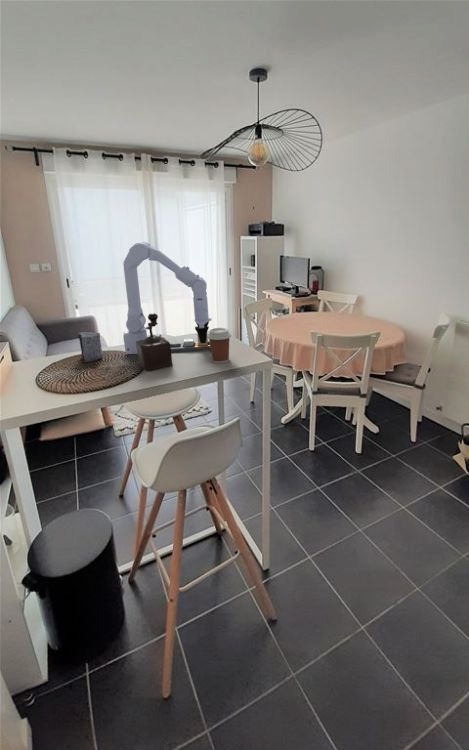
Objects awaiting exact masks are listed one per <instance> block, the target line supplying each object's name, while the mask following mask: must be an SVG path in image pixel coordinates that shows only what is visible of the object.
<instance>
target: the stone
mask: <svg viewBox="0 0 469 750" xmlns="http://www.w3.org/2000/svg"><path fill="white" fill-rule="evenodd" d="M77 335H78V340H79V345H80V351H81V358H82V359H81V360H82V362H83V363H90V362H93V361H97V360H99V359H103V358H104V356H105V354H104V352H103V349H102V343H101V333H100V332H91V331H89V332H86V331H80V332H78V333H77Z"/></svg>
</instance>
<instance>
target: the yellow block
mask: <svg viewBox="0 0 469 750" xmlns="http://www.w3.org/2000/svg"><path fill="white" fill-rule="evenodd" d="M196 334H197V342H198V346H208V341H209V339H208V338H207V336H206V343H201V342H200V339H199V336H198V333H196Z"/></svg>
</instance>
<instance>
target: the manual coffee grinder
mask: <svg viewBox="0 0 469 750" xmlns="http://www.w3.org/2000/svg"><path fill="white" fill-rule="evenodd" d="M158 318H159V316H158V314H157V313H155V312H153V313H149V314H148V316H147V320H149V321H150V322H148V323H147V326H146V327H145V328H146V330H149V336H147V338H145V339H144V340H140V341H136V347H137V353H138V354H137V358H138V363H139V365H141V366H142V367H141V366H140V367H141V368H142V369H144V371H146V372H152V371H156V370H161V369H166V368H170V367H173V365H174V364H173V357H172V352H171V348H170V344H171V343H170V342H169V341H168V340H167V339H166V338H165V337H163V336H162V335H161V334H159V336H158V335H154V334H153V327H156V326H157V325H158V322H157V321H158Z"/></svg>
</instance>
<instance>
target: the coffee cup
mask: <svg viewBox="0 0 469 750" xmlns="http://www.w3.org/2000/svg"><path fill="white" fill-rule="evenodd" d="M231 337H232V333H231V332H230V331H229V329H228V328H226V327H216V328H215V327H214V328H211V329H210V330H209V332H208V333H207V338H208V341H210V348H211V350H210V353H211V360H212V362H213V363H215V364H224V363H227V362H229V361H230V360H229V359H230V357H229V356H230V339H231Z"/></svg>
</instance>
